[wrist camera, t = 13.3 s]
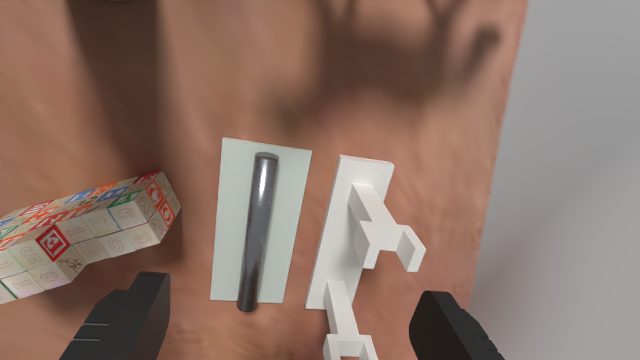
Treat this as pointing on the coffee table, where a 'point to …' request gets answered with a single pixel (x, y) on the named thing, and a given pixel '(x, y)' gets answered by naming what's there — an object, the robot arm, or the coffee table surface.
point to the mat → (235, 210)
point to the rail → (257, 228)
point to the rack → (355, 250)
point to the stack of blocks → (81, 232)
